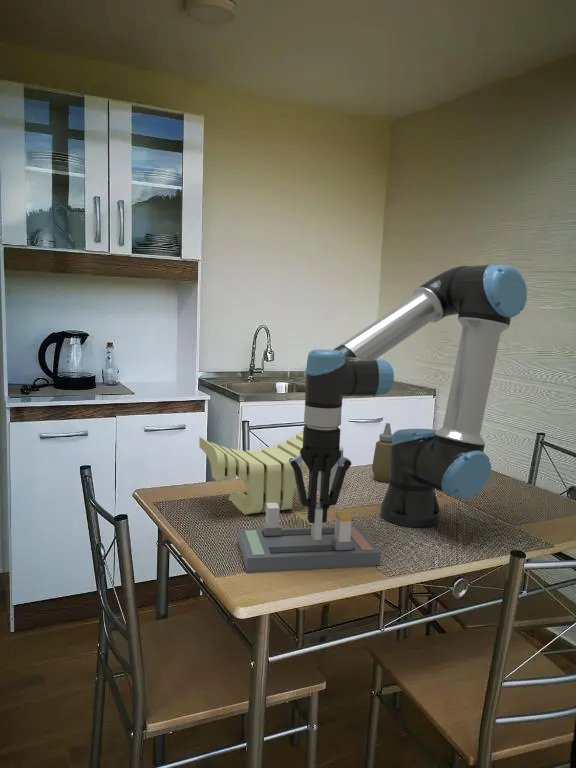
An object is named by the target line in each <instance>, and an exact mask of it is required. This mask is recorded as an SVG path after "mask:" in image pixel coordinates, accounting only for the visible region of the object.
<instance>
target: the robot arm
mask: <svg viewBox="0 0 576 768" xmlns="http://www.w3.org/2000/svg"><path fill="white" fill-rule="evenodd" d="M525 281H526V280H525V279H524V278H523V275H522V273H521V272H520V271H519V270H518V269H516V268H515V267H513V266H512V265H508V264H496V263H493V264H485V265H460V266H455V267H453V268H451V269H448V270H446V271H443V272H442V273H440V274H438V275H436V276H434V277H432V278H430V279H429V280H428V281H426V282H424V283H422V285H420V286H418V287H417V288H416V289H414V291H413V293H412V296H410V298H408V299H407V300H405V301H403V302H402V303H401V304H399V305H398V306H396V307H395V308H393V309H392V310H391V311H389V312H388V313H386V314H385V315H382V316H381V317H380V318H379V319H377V320H376V321H373V323H371V324H369V325H368V326H366V327H365V328H364V329H362V330H361V331H359V332H357V333H356V334H355V335H353V336H351V337H350V338H349V339H347V340H346V341H344V342H343V343H341V344H339V346H337V347H335V348H333V349H320V348H319V349H311V350H310V351H309V352H308V354H307V359H306V368H305V391H304V393H305V394H304V395H305V396H304V400H305V401H304V415H303V424H305V425H304V427H303V430H302V431H303V447H302V449H301V451H300V455H298V456H297V457H295V458H294V459H293V458H290V459H289V463H290V464H291V466H292V468H293V470H294V475H295V480H296V489H297V494H298V500H299V502H300V504H301V505H302V506H303V507H307V522H308V523H309V524H311V526H310V527H311V536H312V537H313V539H314V540H321V534H322V527H323V523H327V520H328V510H329V509H330V507H331V506H336V505H337V503H338V500H339V497H340V494H341V490H342V487H343V483H344V480H345V477H346V473H347V471H348V470H349V468H350V467H351V465H352V461H351V460H350V459H349V458H347V457H344V455H343V456H342V455H341V451H340V448H339V446H340V447H341V445H340V444H341V442H340V441H341V428H340V426H341V425H342V411H343V410H342V409H343V408H342V407H343V398H344V397H357V396H358V397H359V396H361V397H363V396H364V397H365V396H368V397H369V396H370V397H371V396H373V397H375V396H382V395H386V394H388V393H389V392H390V391H391V390H392V388H393V385H394V380H395V372H394V370H393V369H394V368H393V367H392V365H391V363H390V362H389V361H386V360H384V359H383V360H382V359H379V358H380V357H381V356H383V355H384V354H386V353H387V352H389V351H390V350H391V349H393V348H394V347H396V346H397V345H399V344H400V343H401V342H404V341H405V340H407V339H408V338H409V337H411V335H413V334H414V333H416V332H418V331H419V330H420V329H422V328H423V327H425V326H426V325H428V324H429V323H437V322H439V321H441V320H442V319H443V318H445V317H449V316H454V315H455V316H456V315H457V321H458V322H459V323H460V325H461V327H462V329H461V335H460V339H459V344H458V350H457V355H456V360H455V364H454V368H453V374H452V380H451V385H450V388H449V393H448V397H447V398H448V400H447V404H446V410H445V415H444V418H443V423H442V427H441V428H439V429H438V430H437V429H431V428H405V429H398V430H396V431H394V432H393V434H392V435H393V438H392V444H391V459H390V479H389V482H388V488H387V490H386V492H385V494H384V496H383V500H382V502H381V503H380V504H381V505H380V512H379V513H380V514H379V515H380V517H381V518H383V519H384V520H385V521H387V522H389V523H391V524H394V525H398V526H403V527H408V528H409V527H410V528H426V527H433V526H435V525H437V524H439V523H440V520H441V509H440V505H439V501H438V497H437V493H436V490H438V491H440V492H442V493H444V494H446V495H447V496H453V497H455V498H459V499H469V498H472V497H474V496H476V495H477V494H479V492H481V491H482V490H483V489H484V487H485V486H486V485H487V483H488V481H489V479H490V478H491V477H490V476H491V473H492V462H490V458H489V456H488V455H487V454H486V453H485V452H484V451H485V447H486V446H485V445H486V442H485V441H484V439H483V437H482V435H481V431H482V426H483V421H484V418H485V417H484V416H485V413H486V408H487V407H486V406H487V401H488V397H489V393H490V387H491V382H492V377H493V372H494V368H495V363H496V358H497V354H498V353H497V352H498V348H499V344H500V339H501V335H502V333H503V332H504V331H506V330H508V329H509V328H510V324H511V320H512V318H515V317H517V316H518V315H520V313H521V311H524V309H525V306H526V303H527V297H528V289H527V285H526V282H525ZM302 460H303V461H304V462H305V464H306V465H307V467H308V468H309V469H308V486H307V487H308V490H307V491H308V492H307V493H306V487H305V483H304V482H305V481H304V477H303V476H304V475H302V471H301V469H300V467H301V466H302ZM337 461H338V467H337V470H336V474H335V477H334V481H333V484H332V487H331V491H330V492H329V484H330V476H331V469H332V468H333V467H334V465H335V464H336V463H337ZM319 471H321V487H320V490H319V504H317V499H318V498H317V496H318V495H317V494H318V490H317V481H318V475H319Z"/></svg>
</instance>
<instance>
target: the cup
mask: <svg viewBox="0 0 576 768" xmlns="http://www.w3.org/2000/svg"><path fill="white" fill-rule="evenodd" d="M339 448H340V451H341V455H342V456H343V457H344V447H342V446H341V445H340V446H339ZM337 467H338V461H337V463H336V464H335V465H334V467H333V468H332V469H331V476H330V484H329V493H330V491H331V487H332V484H333V481H334V477H335V474H336V470H337ZM320 487H321V471H319V475H318V481H317V491H320Z"/></svg>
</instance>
